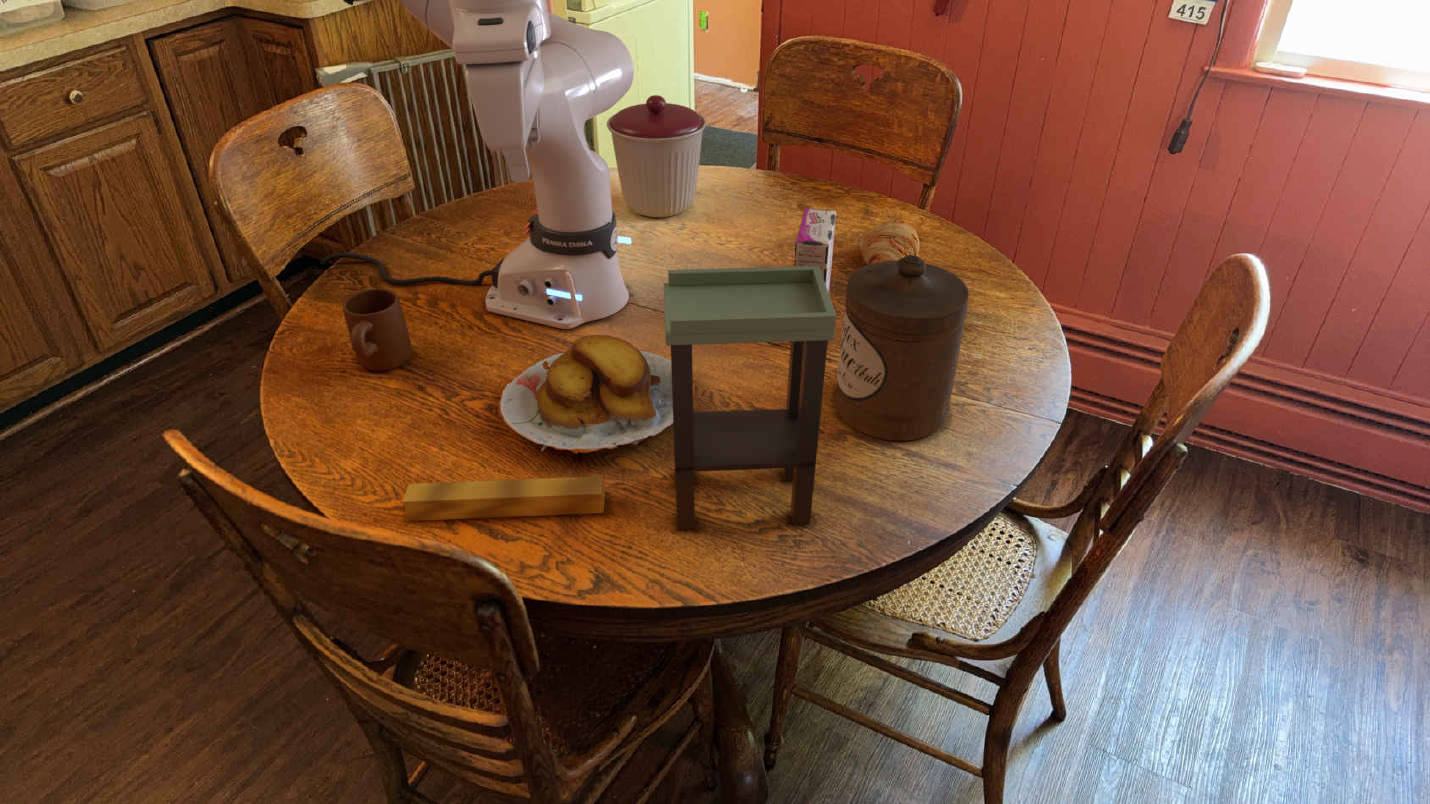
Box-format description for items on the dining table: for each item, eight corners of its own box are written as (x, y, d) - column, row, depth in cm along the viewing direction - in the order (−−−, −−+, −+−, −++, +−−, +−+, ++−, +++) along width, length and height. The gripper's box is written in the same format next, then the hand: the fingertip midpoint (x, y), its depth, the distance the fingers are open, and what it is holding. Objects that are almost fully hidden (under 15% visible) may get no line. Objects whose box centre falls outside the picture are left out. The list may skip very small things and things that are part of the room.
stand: (672, 532, 95) (664, 321, 79) (670, 473, 103) (663, 269, 87) (814, 526, 96) (836, 315, 80) (802, 467, 104) (819, 265, 88)
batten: (408, 521, 97) (402, 501, 95) (413, 502, 99) (408, 483, 97) (603, 513, 98) (601, 493, 96) (604, 495, 100) (602, 475, 98)
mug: (398, 391, 117) (382, 332, 111) (341, 392, 116) (322, 333, 111) (419, 343, 126) (405, 287, 120) (367, 344, 126) (351, 288, 120)
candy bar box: (797, 303, 136) (804, 206, 126) (828, 306, 135) (838, 209, 125) (787, 340, 127) (794, 239, 117) (821, 344, 126) (830, 243, 116)
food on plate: (465, 444, 107) (455, 402, 104) (555, 343, 126) (550, 304, 123) (653, 487, 101) (650, 445, 97) (719, 374, 120) (719, 334, 116)
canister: (721, 197, 169) (722, 88, 156) (681, 234, 156) (678, 118, 143) (640, 182, 175) (635, 76, 162) (595, 216, 162) (585, 103, 149)
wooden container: (826, 376, 120) (840, 232, 106) (930, 373, 120) (957, 229, 107) (845, 444, 108) (863, 291, 95) (960, 440, 108) (995, 287, 95)
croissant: (893, 310, 141) (922, 276, 135) (842, 277, 140) (870, 241, 135) (909, 251, 157) (936, 219, 151) (863, 222, 156) (888, 187, 151)
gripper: (484, -3, 89) (508, 129, 97) (448, 50, 72) (481, 203, 81) (545, -7, 89) (564, 125, 97) (523, 45, 72) (548, 199, 81)
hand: (526, 161), depth 89 cm, fingers open, 8 cm apart
